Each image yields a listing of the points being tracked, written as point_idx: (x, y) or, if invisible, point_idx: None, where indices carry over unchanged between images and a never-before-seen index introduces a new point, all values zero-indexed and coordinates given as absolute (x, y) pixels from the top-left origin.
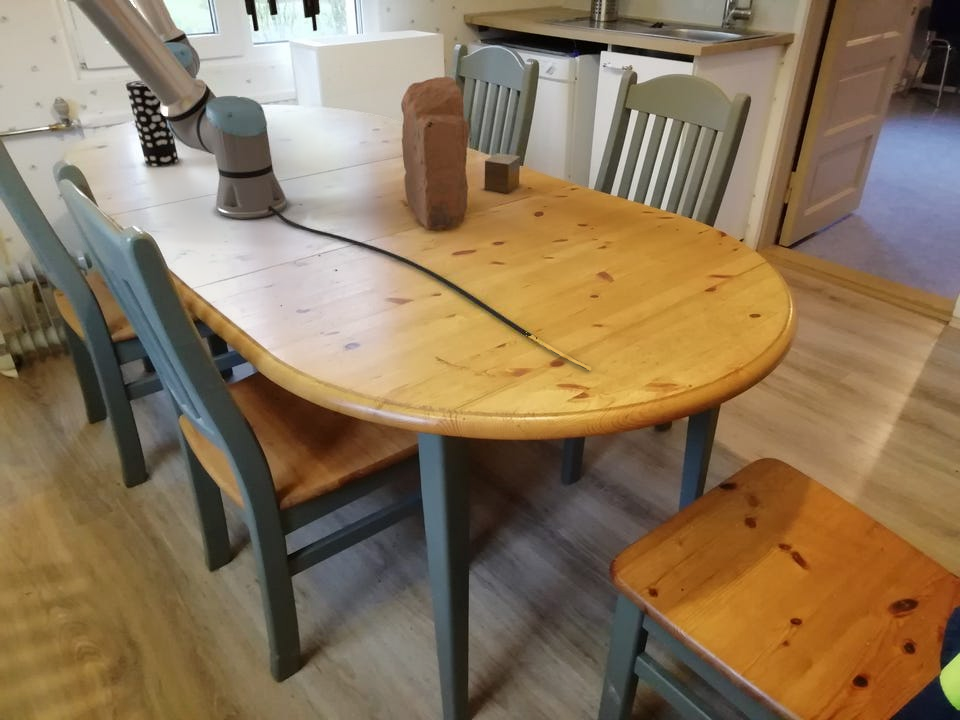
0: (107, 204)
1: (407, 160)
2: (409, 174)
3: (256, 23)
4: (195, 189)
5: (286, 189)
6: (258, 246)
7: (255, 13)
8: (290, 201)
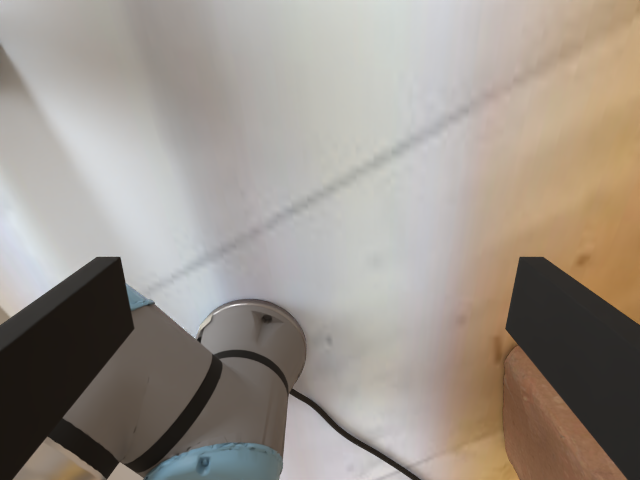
0: (5, 309)
1: (543, 435)
2: (530, 426)
3: (108, 347)
4: (124, 250)
5: (296, 266)
6: (287, 462)
7: (59, 373)
8: (310, 324)
